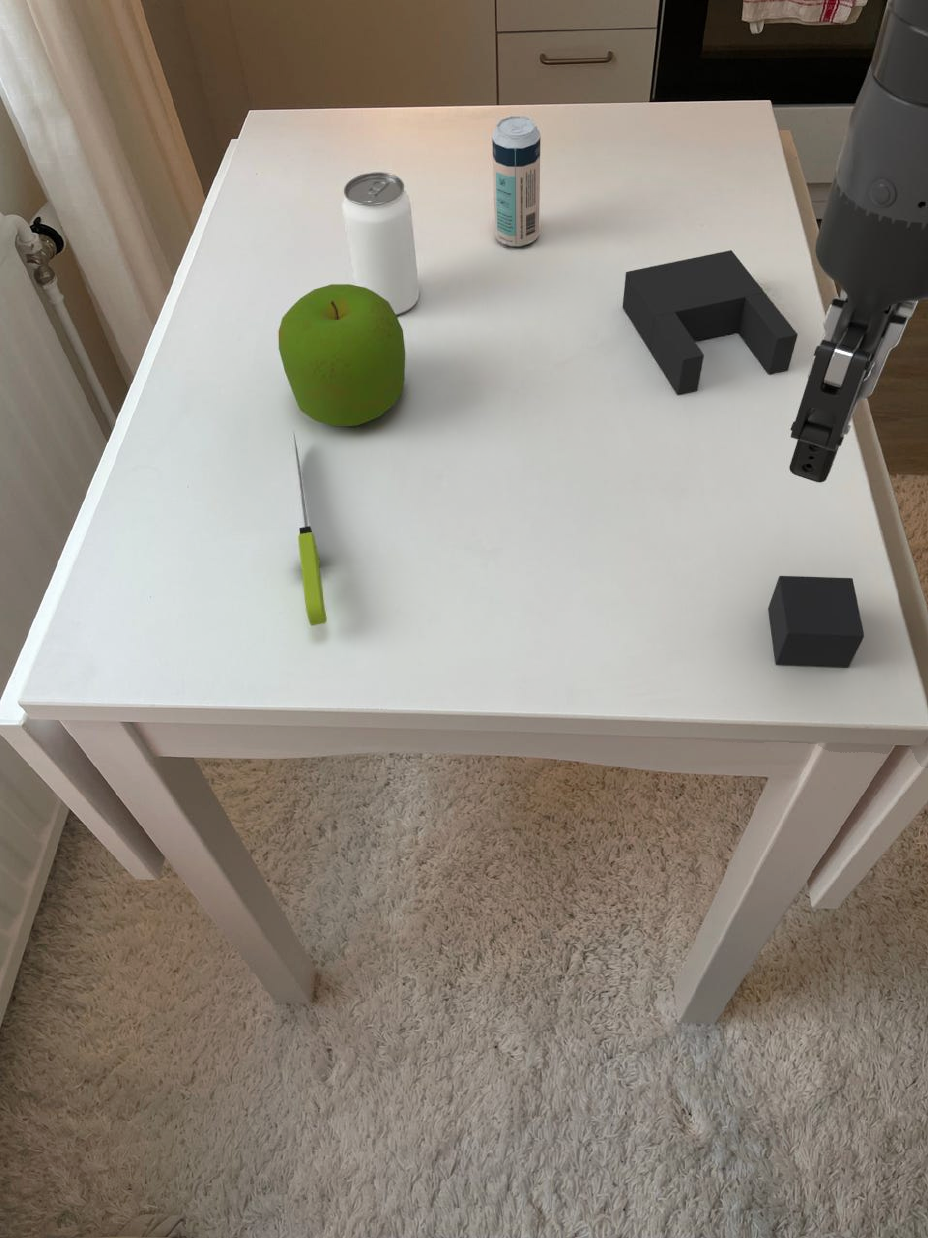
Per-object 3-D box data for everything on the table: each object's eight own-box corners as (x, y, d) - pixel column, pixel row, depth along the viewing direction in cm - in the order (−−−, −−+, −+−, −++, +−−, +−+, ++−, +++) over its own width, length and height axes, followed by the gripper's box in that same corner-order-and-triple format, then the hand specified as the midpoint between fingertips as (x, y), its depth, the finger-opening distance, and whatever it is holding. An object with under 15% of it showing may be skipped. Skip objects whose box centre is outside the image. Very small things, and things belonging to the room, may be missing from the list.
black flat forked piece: (788, 370, 88) (798, 334, 85) (677, 395, 87) (683, 359, 84) (724, 285, 97) (731, 249, 93) (622, 306, 95) (625, 271, 92)
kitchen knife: (292, 456, 86) (285, 429, 84) (306, 454, 87) (299, 427, 84) (313, 639, 72) (306, 612, 70) (330, 635, 72) (323, 609, 70)
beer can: (540, 225, 105) (541, 113, 95) (537, 249, 102) (539, 137, 92) (496, 224, 105) (493, 113, 95) (493, 249, 102) (490, 137, 93)
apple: (406, 439, 85) (393, 338, 77) (287, 442, 86) (260, 342, 77) (412, 360, 92) (401, 258, 83) (302, 363, 92) (279, 262, 84)
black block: (838, 610, 72) (852, 577, 69) (848, 668, 69) (864, 636, 66) (767, 608, 72) (779, 575, 69) (775, 665, 69) (787, 633, 66)
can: (346, 311, 97) (327, 200, 87) (373, 276, 100) (357, 164, 91) (404, 324, 95) (391, 211, 86) (429, 287, 99) (419, 175, 89)
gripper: (964, 273, 41) (856, 529, 54) (1033, 122, 48) (923, 380, 61) (791, 230, 43) (729, 484, 56) (882, 92, 50) (807, 347, 63)
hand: (830, 430), depth 58 cm, fingers open, 8 cm apart
